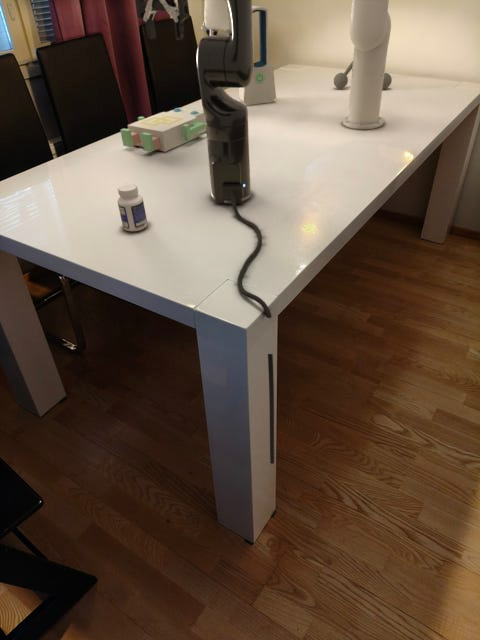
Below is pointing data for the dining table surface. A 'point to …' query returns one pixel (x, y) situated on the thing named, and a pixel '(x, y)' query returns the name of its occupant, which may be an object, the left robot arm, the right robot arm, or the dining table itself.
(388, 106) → the dining table surface
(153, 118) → the decorative block
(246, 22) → the left robot arm
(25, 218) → the dining table surface
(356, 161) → the dining table surface
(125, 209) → the pill bottle
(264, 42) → the electronic device
